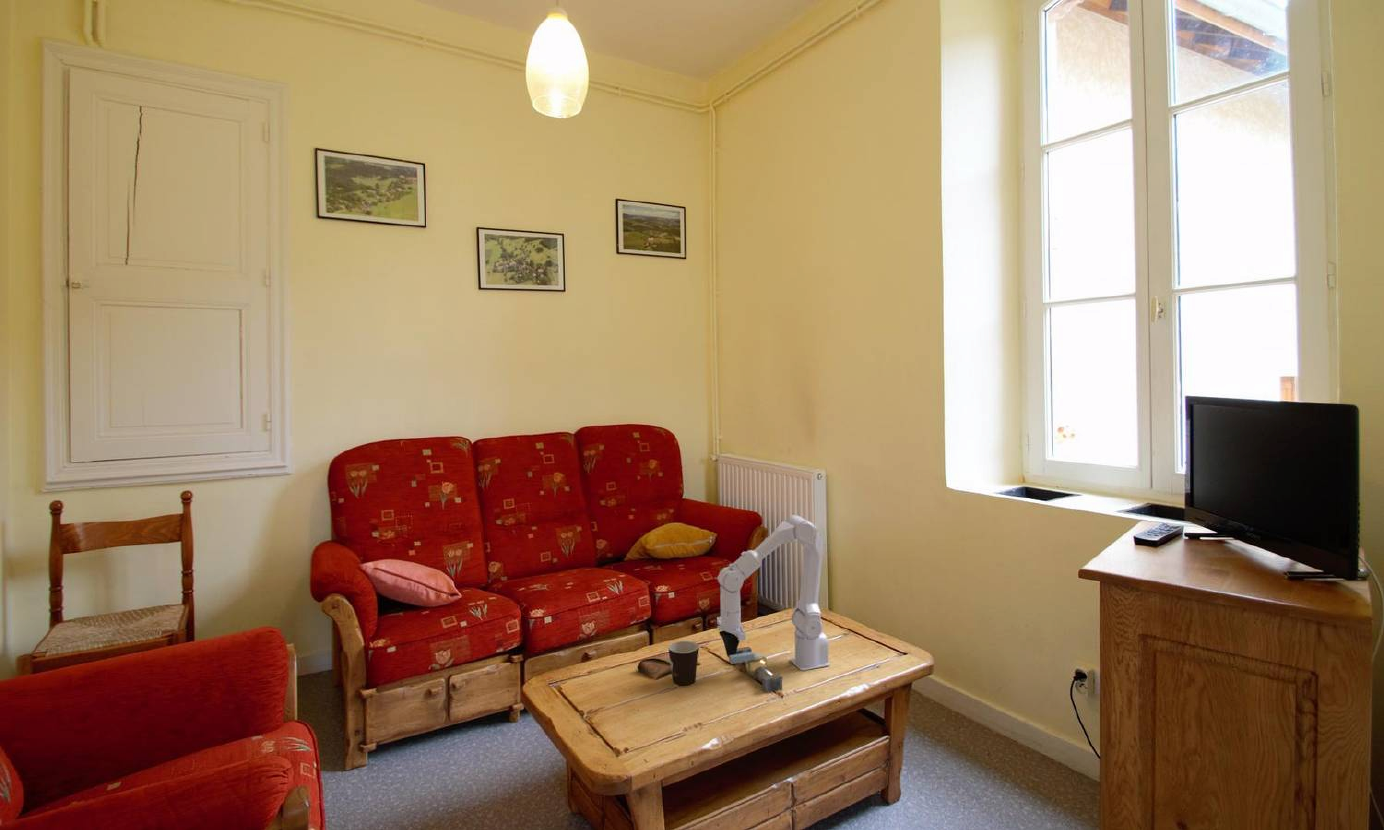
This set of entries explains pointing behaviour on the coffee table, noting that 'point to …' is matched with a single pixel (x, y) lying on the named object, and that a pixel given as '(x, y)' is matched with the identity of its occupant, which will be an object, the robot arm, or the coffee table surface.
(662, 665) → the sunglasses case
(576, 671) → the coffee table surface
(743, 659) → the lever
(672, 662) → the coffee mug
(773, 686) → the valve body
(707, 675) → the coffee table surface
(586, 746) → the coffee table surface
